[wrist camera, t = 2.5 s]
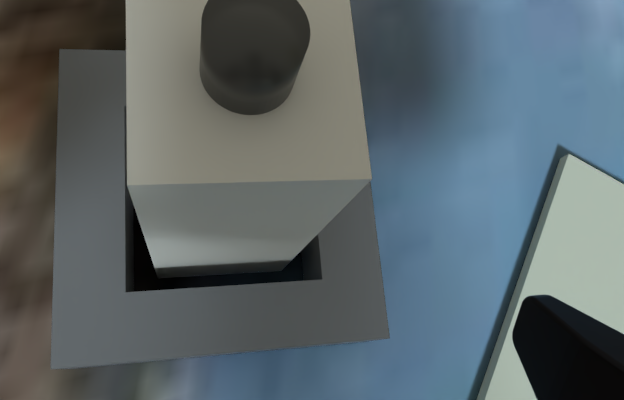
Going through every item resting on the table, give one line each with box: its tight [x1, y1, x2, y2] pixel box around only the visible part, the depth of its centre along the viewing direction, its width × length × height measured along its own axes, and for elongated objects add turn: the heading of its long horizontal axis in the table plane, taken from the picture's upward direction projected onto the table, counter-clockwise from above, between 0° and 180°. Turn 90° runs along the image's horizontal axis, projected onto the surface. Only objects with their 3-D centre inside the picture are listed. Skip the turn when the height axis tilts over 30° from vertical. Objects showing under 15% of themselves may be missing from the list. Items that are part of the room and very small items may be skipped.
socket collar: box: [51, 49, 390, 369], centre depth 20 cm, size 10×10×3 cm
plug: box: [126, 0, 372, 278], centre depth 15 cm, size 4×4×12 cm
